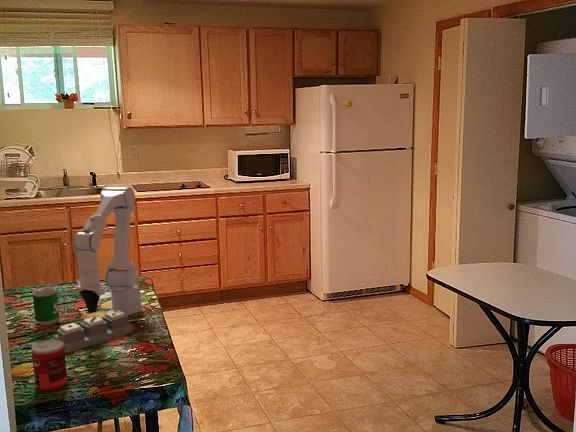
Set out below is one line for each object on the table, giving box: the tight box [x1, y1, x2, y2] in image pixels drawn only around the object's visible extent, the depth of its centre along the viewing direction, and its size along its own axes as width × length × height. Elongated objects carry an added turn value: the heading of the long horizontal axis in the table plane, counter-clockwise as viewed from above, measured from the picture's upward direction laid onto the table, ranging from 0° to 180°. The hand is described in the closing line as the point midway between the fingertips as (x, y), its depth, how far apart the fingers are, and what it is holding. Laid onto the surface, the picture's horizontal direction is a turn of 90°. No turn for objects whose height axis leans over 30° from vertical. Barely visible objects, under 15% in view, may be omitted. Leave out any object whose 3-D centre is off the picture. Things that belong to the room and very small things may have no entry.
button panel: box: [53, 315, 134, 353], centre depth 185 cm, size 21×11×5 cm, turn 135°
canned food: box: [31, 339, 68, 392], centre depth 154 cm, size 8×8×11 cm
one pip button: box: [59, 322, 81, 334], centre depth 179 cm, size 4×4×2 cm
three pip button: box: [82, 316, 103, 327], centre depth 185 cm, size 4×4×2 cm
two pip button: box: [104, 310, 125, 320], centre depth 190 cm, size 4×4×2 cm
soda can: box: [32, 284, 60, 326], centre depth 197 cm, size 8×8×12 cm
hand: (92, 312), depth 184 cm, fingers closed
